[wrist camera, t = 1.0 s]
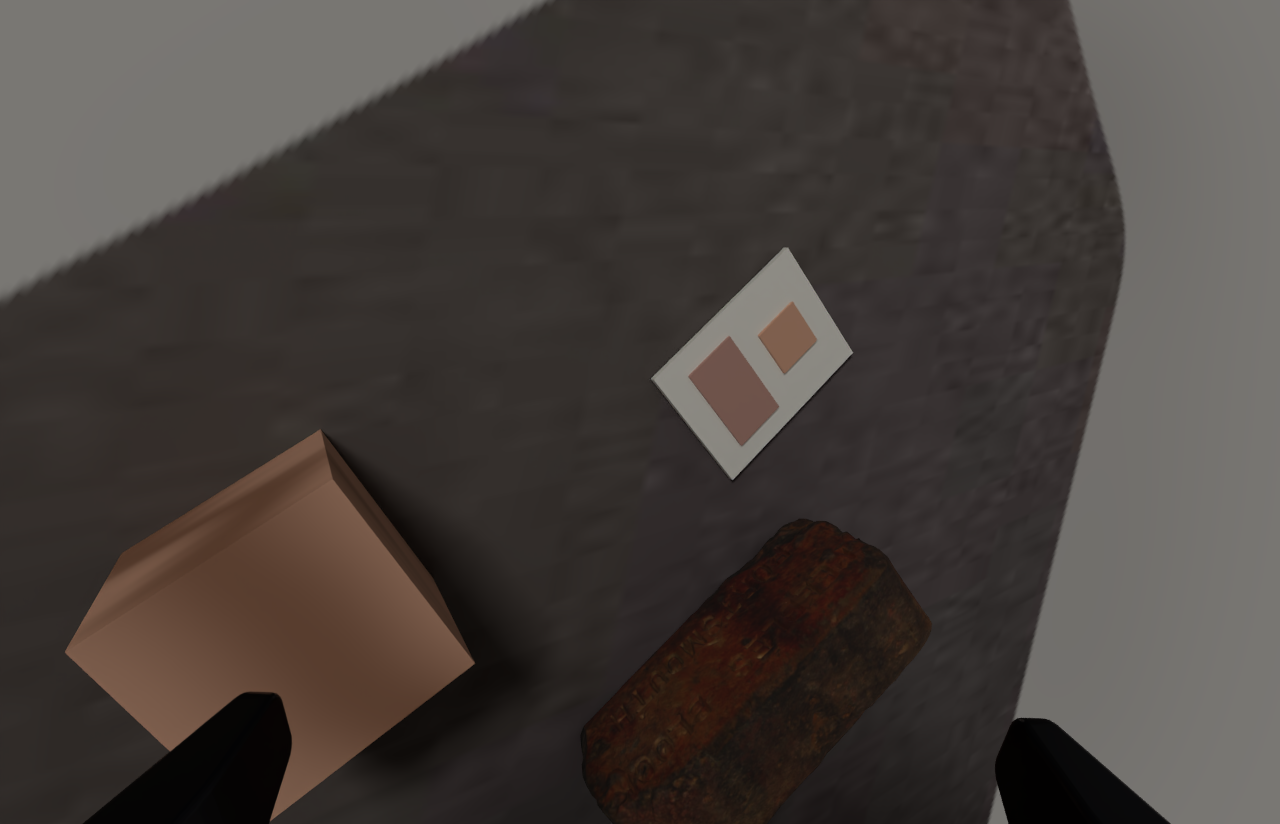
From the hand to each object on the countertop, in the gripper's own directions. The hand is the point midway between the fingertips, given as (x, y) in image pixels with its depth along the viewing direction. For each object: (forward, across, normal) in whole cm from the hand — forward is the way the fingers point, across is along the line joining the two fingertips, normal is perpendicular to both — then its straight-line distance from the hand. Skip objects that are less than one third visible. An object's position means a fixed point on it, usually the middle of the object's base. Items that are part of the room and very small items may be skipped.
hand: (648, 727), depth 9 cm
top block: (+8, +9, +5) cm, 13 cm away
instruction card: (+15, -4, +2) cm, 16 cm away
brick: (+12, -3, +11) cm, 16 cm away
